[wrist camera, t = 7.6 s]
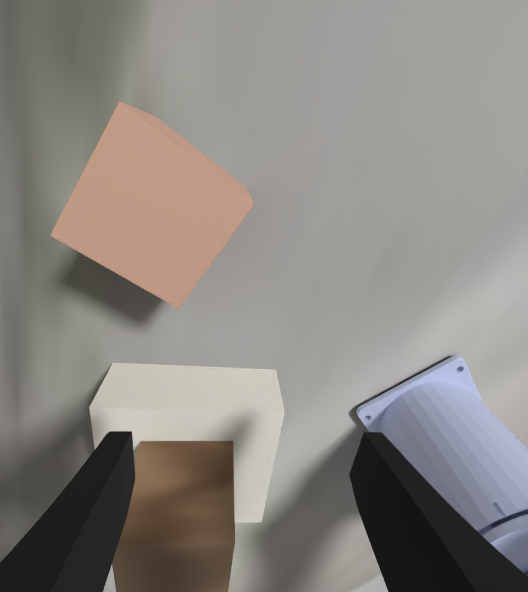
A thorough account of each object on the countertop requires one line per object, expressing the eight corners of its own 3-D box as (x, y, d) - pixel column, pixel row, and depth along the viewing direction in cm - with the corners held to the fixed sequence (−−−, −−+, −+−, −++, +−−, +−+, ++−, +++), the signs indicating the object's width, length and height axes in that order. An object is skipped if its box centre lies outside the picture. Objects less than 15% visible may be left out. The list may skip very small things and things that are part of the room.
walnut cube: (233, 440, 18) (235, 540, 13) (226, 497, 20) (226, 599, 15) (140, 441, 17) (109, 546, 13) (144, 499, 19) (118, 607, 15)
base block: (275, 365, 21) (284, 411, 17) (256, 468, 25) (261, 522, 21) (115, 358, 19) (89, 407, 16) (123, 468, 24) (104, 526, 20)
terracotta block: (246, 187, 16) (254, 204, 11) (191, 265, 17) (178, 308, 12) (154, 115, 14) (119, 101, 9) (102, 209, 15) (50, 235, 11)
